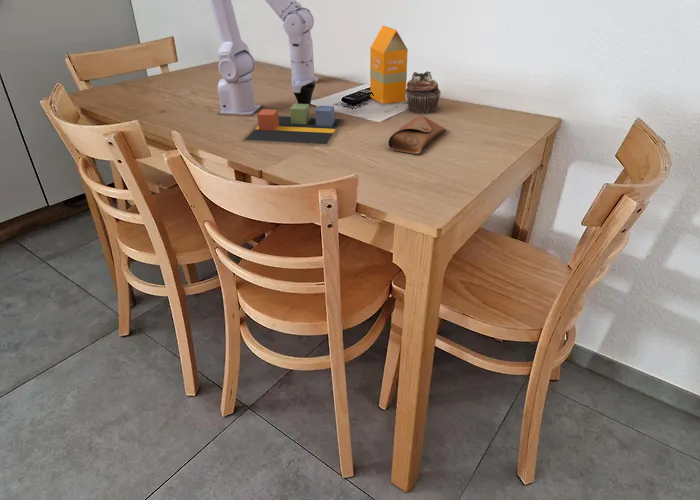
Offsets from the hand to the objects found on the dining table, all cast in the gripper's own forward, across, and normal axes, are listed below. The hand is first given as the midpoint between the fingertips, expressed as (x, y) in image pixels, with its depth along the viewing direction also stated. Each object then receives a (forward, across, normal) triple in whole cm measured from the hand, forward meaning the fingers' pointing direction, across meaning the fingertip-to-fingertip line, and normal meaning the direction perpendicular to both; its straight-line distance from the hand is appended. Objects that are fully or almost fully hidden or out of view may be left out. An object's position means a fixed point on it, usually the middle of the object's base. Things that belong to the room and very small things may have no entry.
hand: (305, 111), depth 136 cm
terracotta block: (+1, -10, +7) cm, 13 cm away
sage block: (+1, -5, 0) cm, 5 cm away
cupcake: (+2, +11, -32) cm, 33 cm away
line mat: (+1, -10, 0) cm, 10 cm away
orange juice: (+2, +19, -20) cm, 28 cm away
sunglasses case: (+2, -13, -32) cm, 35 cm away
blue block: (+1, -6, -7) cm, 9 cm away
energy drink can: (+2, +35, +9) cm, 36 cm away
